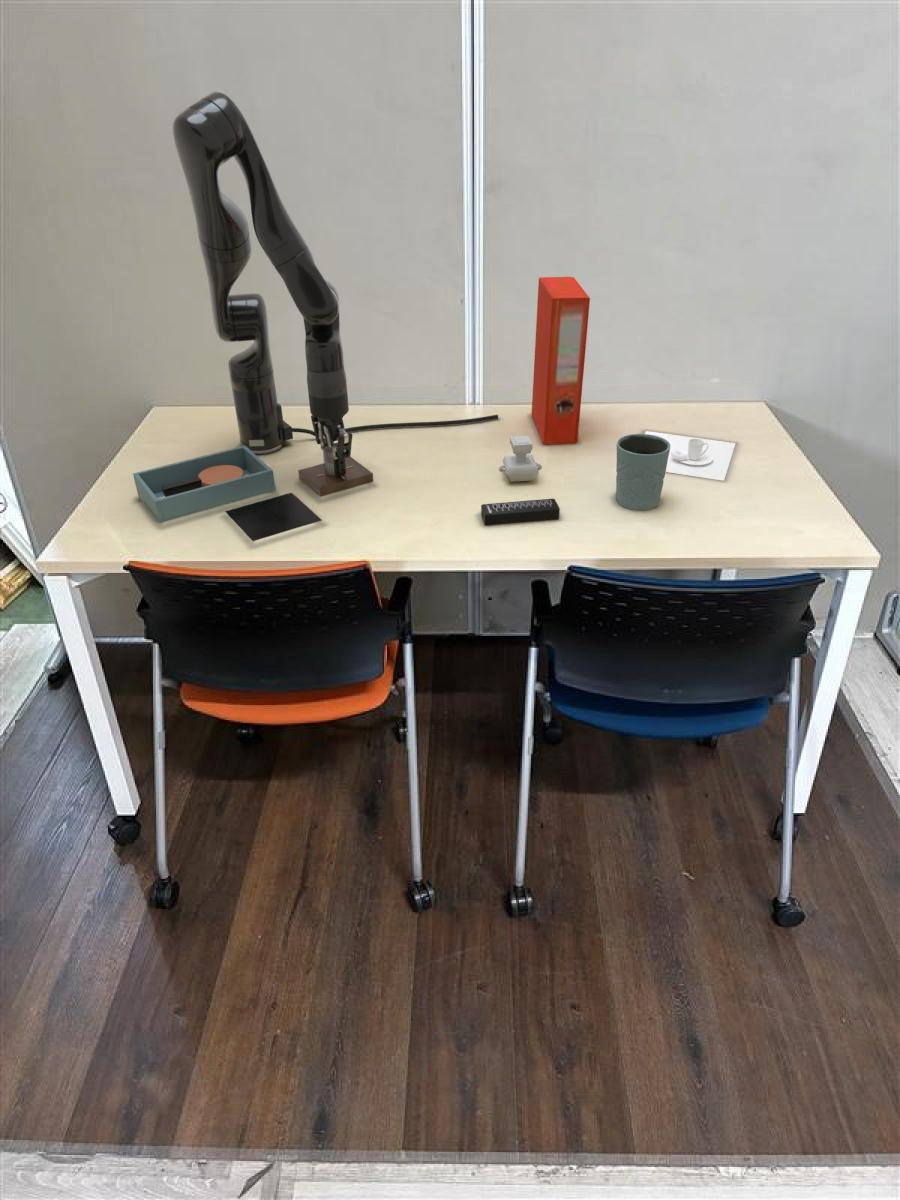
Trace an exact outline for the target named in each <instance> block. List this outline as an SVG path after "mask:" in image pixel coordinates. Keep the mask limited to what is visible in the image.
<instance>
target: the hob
mask: <svg viewBox="0 0 900 1200" xmlns="http://www.w3.org/2000/svg"><path fill="white" fill-rule="evenodd" d="M224 512H225V513H226V514H227V515H228V516H229V517H230V519H231V520H232V521H233V522H234V523H235V524H236V525H237V526H238V527H239V528H240V530H242V532H243V533H244V534H245V535H246V536H247V538H249V539H250V540H251V541H252V542H256V541H259V540H262V539H266V538H270V537H272V536H275V535H279V534H282V533H285V532H288V531H292V530H295V529H299V528H301V527H305V526H308V525H311V524H315V523H318V522H321V521H322V520H323V519H321V517H319V516H318V515H317V513H315V512H314V511H312V509H310V508H309V507H308V506H307V505H306V504H305V503H304V502H303V501H301V500H300V498H298V497H297V496H296V495H295V494H294V493H293V492H288V493H284V494H281V495H277V496H274V497H271V498H266V499H264V500H260V501H256V502H252V503H248V504H245V505H242V506H239V507H236V508H232V509H229V510H225V511H224Z"/></svg>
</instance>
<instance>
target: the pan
mask: <svg viewBox="0 0 900 1200" xmlns="http://www.w3.org/2000/svg"><path fill="white" fill-rule="evenodd" d="M243 476H245V475H244V473H243V470H242V469H241V468H239V467H237V466H233V465H219V466H214V467H210V468H207V469H205V470H203V471H202V472H200V473H199V475H198V477H194V478H191V479H187V480H183V481H179V482H175V483H171V484H168V485H164V486H161V487H162V492H163V495H164V497H168V496H171V495H175V494H179V493H183V492H186V491H190V490H194V489H198V488H201V487H205V486H209V485H213V484H216V483H220V482H224V481H228V480H231V479H235V478H239V477H243Z"/></svg>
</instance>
